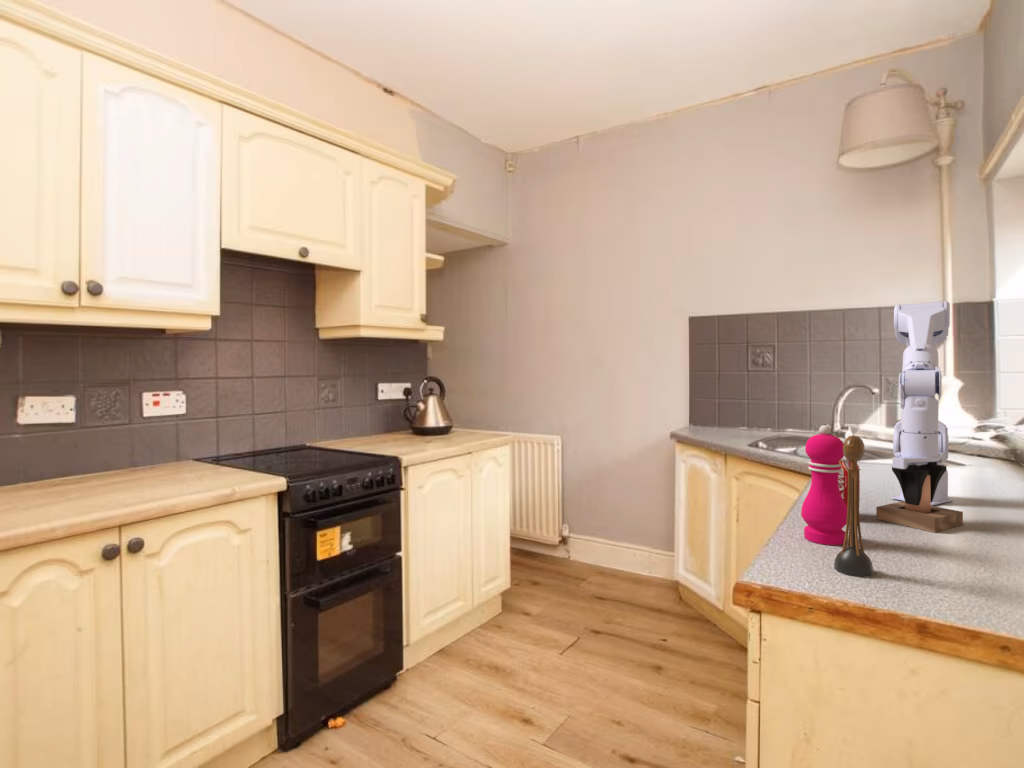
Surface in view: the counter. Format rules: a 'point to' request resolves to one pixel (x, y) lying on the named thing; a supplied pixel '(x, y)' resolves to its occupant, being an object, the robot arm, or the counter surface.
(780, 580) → the counter surface
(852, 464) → the wooden tabletop sculpture
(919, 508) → the peg
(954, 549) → the counter surface
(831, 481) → the pepper mill
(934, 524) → the socket block
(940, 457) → the robot arm
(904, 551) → the counter surface
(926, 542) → the counter surface
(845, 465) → the soda can
